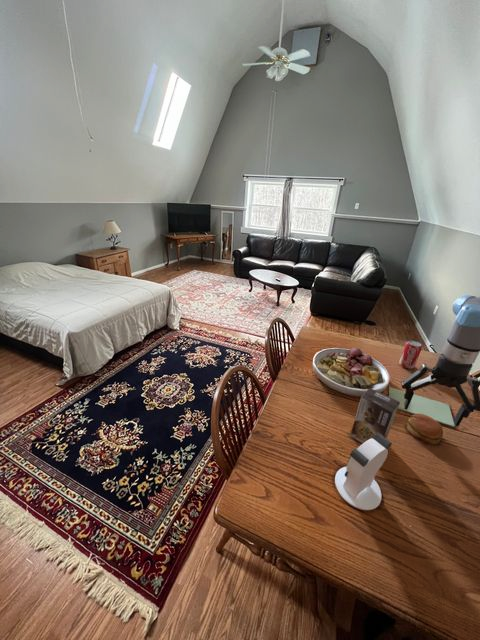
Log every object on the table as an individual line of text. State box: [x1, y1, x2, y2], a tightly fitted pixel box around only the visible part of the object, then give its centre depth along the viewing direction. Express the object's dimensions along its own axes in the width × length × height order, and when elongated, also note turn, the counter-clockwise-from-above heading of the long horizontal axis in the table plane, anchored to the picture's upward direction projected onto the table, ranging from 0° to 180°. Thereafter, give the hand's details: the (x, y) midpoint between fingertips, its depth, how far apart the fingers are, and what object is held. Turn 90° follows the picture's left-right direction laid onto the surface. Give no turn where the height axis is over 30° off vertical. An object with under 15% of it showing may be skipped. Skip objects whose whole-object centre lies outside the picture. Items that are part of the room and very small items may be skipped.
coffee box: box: [349, 388, 400, 444], centre depth 81 cm, size 9×6×16 cm
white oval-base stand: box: [334, 433, 393, 511], centre depth 67 cm, size 12×11×15 cm
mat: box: [388, 386, 456, 428], centre depth 99 cm, size 20×12×1 cm, turn 63°
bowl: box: [312, 347, 391, 398], centre depth 112 cm, size 30×30×8 cm
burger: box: [406, 414, 444, 445], centre depth 87 cm, size 10×9×5 cm
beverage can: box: [398, 340, 423, 369], centre depth 121 cm, size 6×6×12 cm
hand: (429, 414), depth 85 cm, fingers open, 13 cm apart
